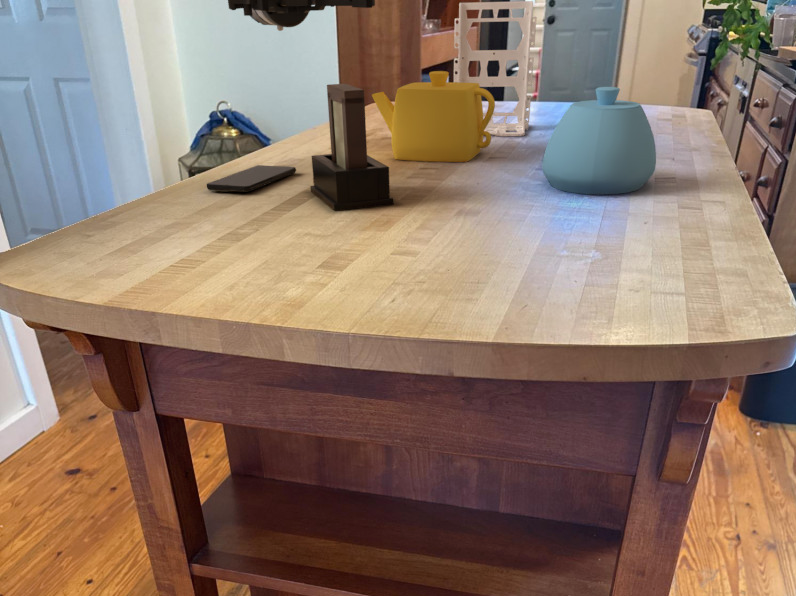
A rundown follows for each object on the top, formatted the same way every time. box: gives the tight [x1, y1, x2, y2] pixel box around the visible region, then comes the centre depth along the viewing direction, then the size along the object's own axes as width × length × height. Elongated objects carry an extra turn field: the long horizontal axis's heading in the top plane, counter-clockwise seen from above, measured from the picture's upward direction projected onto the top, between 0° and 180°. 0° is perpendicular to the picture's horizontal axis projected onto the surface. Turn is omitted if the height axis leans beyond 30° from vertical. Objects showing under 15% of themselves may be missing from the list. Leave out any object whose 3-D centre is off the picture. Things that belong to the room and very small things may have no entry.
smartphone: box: [206, 164, 297, 193], centre depth 108 cm, size 7×1×15 cm
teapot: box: [371, 70, 496, 163], centre depth 120 cm, size 20×12×12 cm, turn 73°
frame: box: [326, 83, 368, 170], centre depth 96 cm, size 8×2×12 cm, turn 20°
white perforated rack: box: [453, 0, 538, 137], centre depth 136 cm, size 14×14×20 cm
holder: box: [310, 153, 395, 212], centre depth 98 cm, size 12×8×4 cm, turn 20°
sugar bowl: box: [541, 86, 657, 196], centre depth 99 cm, size 15×15×12 cm
